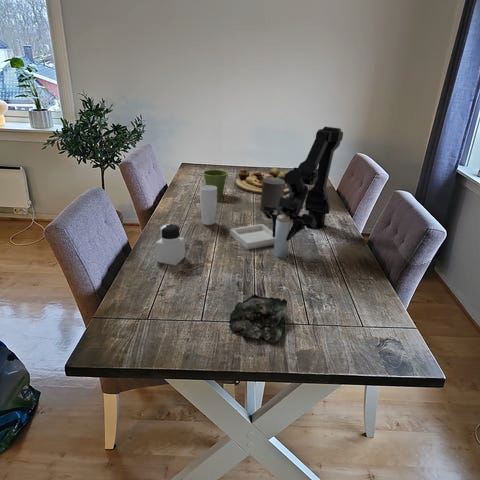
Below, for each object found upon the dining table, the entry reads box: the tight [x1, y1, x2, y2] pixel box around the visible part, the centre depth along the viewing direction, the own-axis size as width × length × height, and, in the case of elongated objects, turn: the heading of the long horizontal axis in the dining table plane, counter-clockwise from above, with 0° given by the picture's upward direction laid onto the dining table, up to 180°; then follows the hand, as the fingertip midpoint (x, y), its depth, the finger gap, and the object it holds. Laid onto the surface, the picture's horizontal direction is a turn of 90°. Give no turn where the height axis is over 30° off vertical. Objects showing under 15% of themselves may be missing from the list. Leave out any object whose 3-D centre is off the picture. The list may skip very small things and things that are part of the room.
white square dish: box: [229, 223, 275, 251], centre depth 158 cm, size 14×14×2 cm
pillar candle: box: [260, 177, 285, 212], centre depth 185 cm, size 10×10×15 cm
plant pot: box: [202, 169, 229, 198], centre depth 202 cm, size 12×12×11 cm
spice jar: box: [273, 214, 292, 259], centre depth 145 cm, size 5×5×14 cm
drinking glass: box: [199, 184, 218, 226], centre depth 169 cm, size 7×7×15 cm
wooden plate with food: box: [235, 166, 291, 195], centre depth 221 cm, size 32×32×8 cm
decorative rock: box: [228, 293, 288, 343], centre depth 110 cm, size 19×6×15 cm
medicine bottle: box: [155, 223, 186, 266], centre depth 139 cm, size 7×7×12 cm
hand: (280, 238), depth 144 cm, fingers closed on spice jar, 5 cm apart
